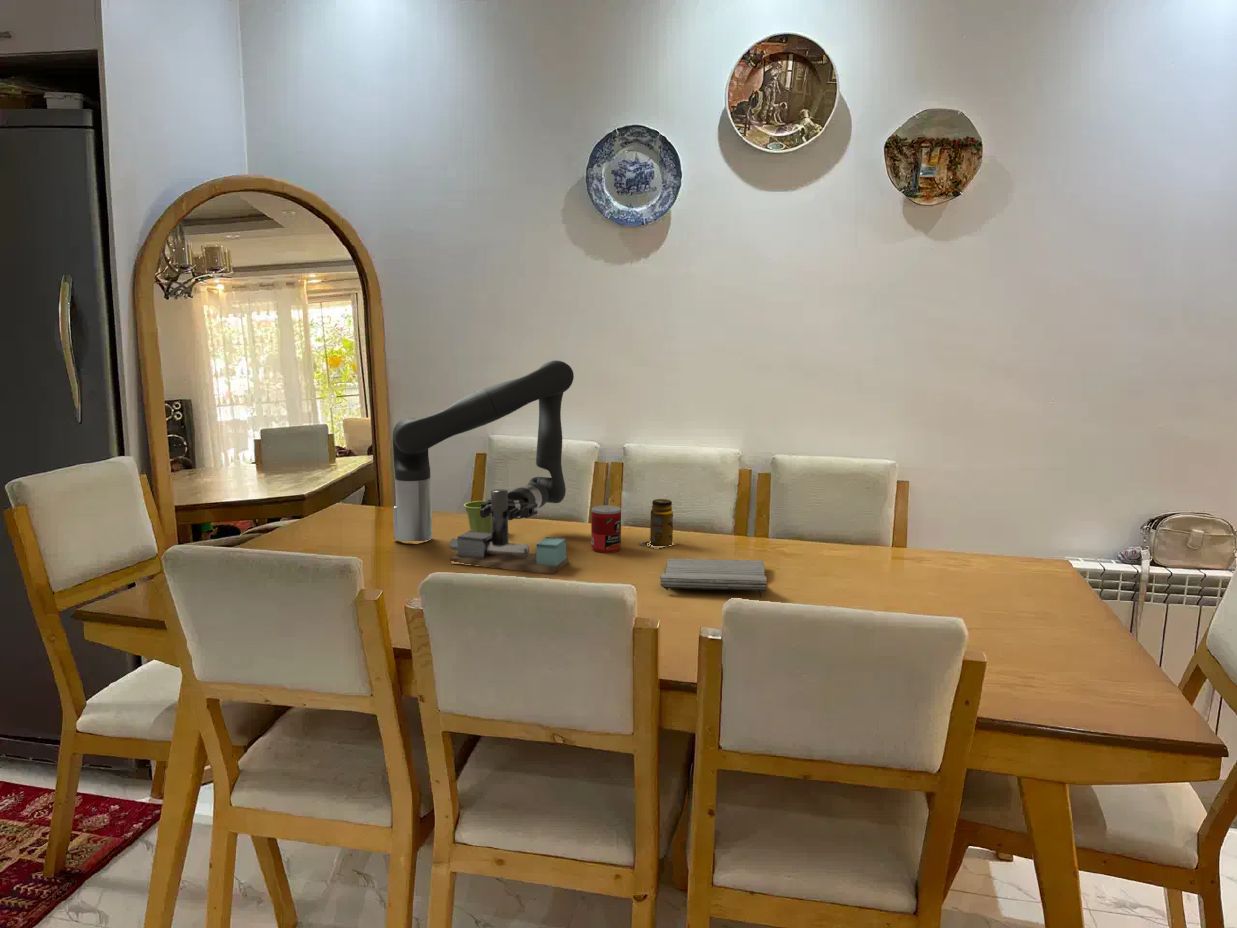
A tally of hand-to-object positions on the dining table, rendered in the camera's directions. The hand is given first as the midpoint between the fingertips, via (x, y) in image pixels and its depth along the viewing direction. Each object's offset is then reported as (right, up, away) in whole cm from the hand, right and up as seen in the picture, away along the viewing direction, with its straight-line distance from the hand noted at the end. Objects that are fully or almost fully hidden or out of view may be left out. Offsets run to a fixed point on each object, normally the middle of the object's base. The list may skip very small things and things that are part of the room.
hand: (495, 515), depth 199 cm
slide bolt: (-2, -10, +5) cm, 11 cm away
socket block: (+13, -11, 0) cm, 18 cm away
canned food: (+26, -10, +17) cm, 33 cm away
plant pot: (-9, -8, +32) cm, 34 cm away
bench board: (+3, -12, +3) cm, 13 cm away
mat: (+52, -15, -9) cm, 55 cm away
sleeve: (-6, -10, +6) cm, 13 cm away
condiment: (+41, -10, +22) cm, 47 cm away
